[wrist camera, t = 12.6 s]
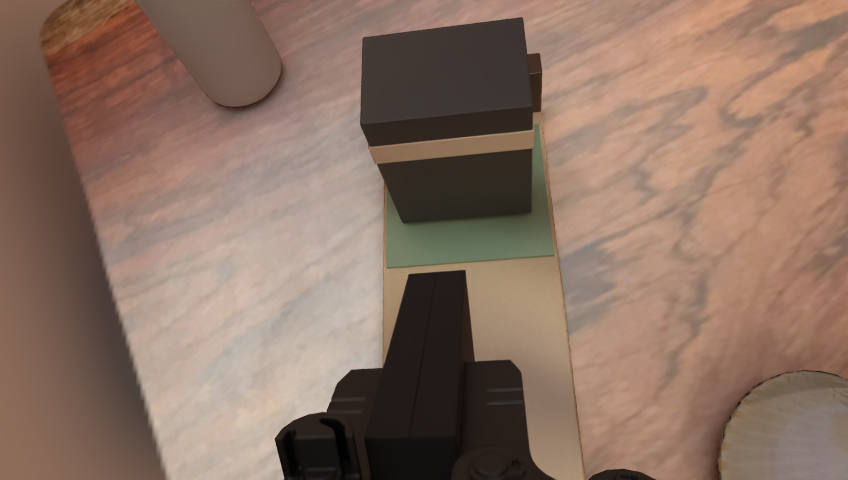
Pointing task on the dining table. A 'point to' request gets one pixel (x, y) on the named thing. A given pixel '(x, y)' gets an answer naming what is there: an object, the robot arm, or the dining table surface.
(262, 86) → the beverage can
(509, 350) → the rail
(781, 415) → the seashell
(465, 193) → the dark grey lidded box
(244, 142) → the dining table surface
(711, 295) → the dining table surface
